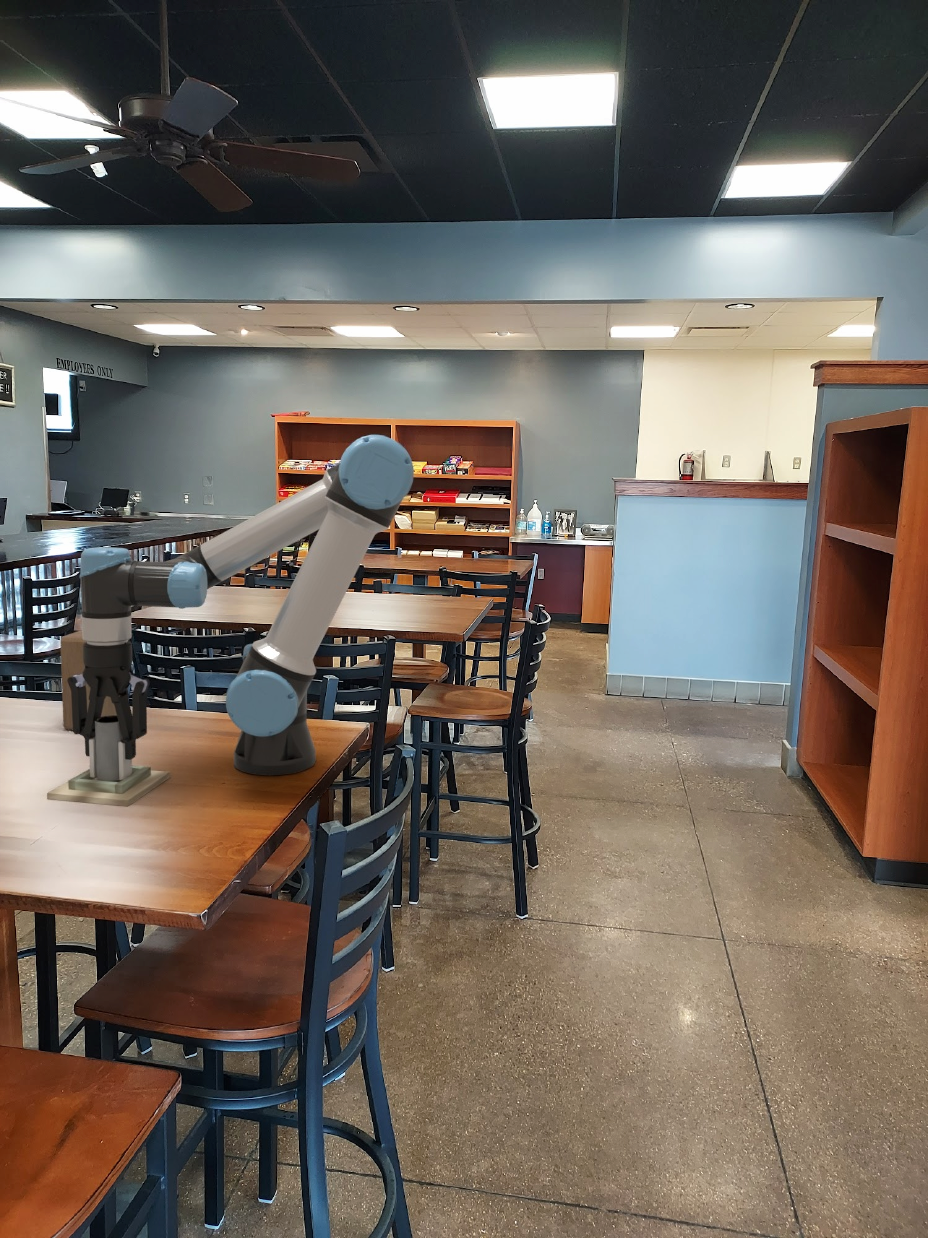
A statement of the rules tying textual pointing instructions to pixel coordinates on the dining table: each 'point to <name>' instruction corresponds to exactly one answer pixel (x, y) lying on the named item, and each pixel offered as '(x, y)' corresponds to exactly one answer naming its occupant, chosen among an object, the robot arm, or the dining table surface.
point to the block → (72, 667)
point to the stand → (109, 787)
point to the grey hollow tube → (107, 747)
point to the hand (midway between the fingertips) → (111, 775)
